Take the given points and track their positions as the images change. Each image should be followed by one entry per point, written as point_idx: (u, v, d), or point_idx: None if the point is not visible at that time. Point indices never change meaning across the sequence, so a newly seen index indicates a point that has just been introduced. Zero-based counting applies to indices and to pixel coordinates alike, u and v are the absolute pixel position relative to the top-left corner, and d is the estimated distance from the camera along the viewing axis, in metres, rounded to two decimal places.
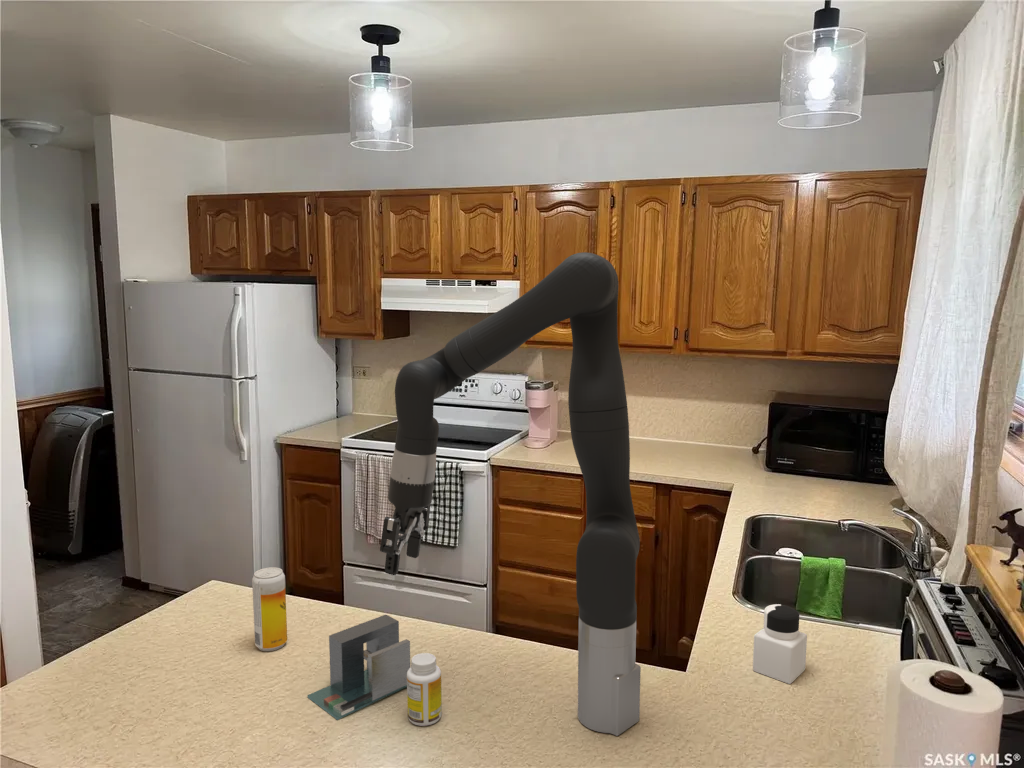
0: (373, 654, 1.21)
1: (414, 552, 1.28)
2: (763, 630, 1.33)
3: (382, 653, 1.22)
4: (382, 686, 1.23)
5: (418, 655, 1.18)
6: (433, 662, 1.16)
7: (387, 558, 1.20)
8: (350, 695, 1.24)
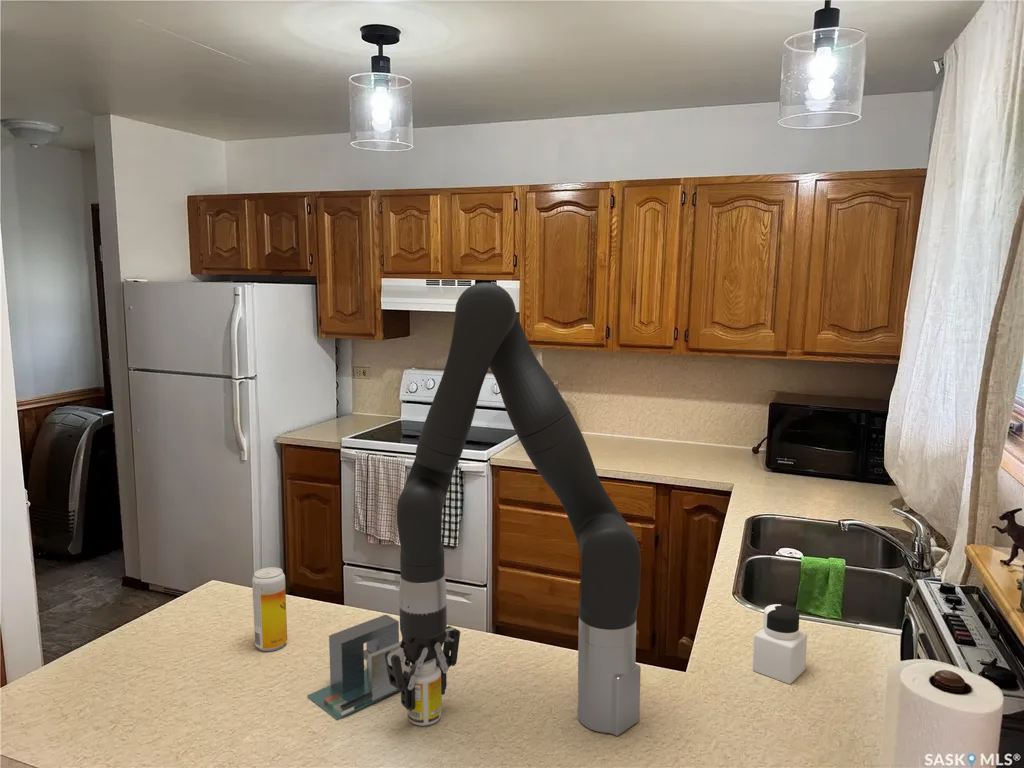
0: (373, 654, 1.21)
1: None
2: (763, 630, 1.33)
3: (382, 653, 1.22)
4: (382, 686, 1.23)
5: None
6: (433, 662, 1.16)
7: (401, 692, 1.15)
8: (350, 695, 1.24)
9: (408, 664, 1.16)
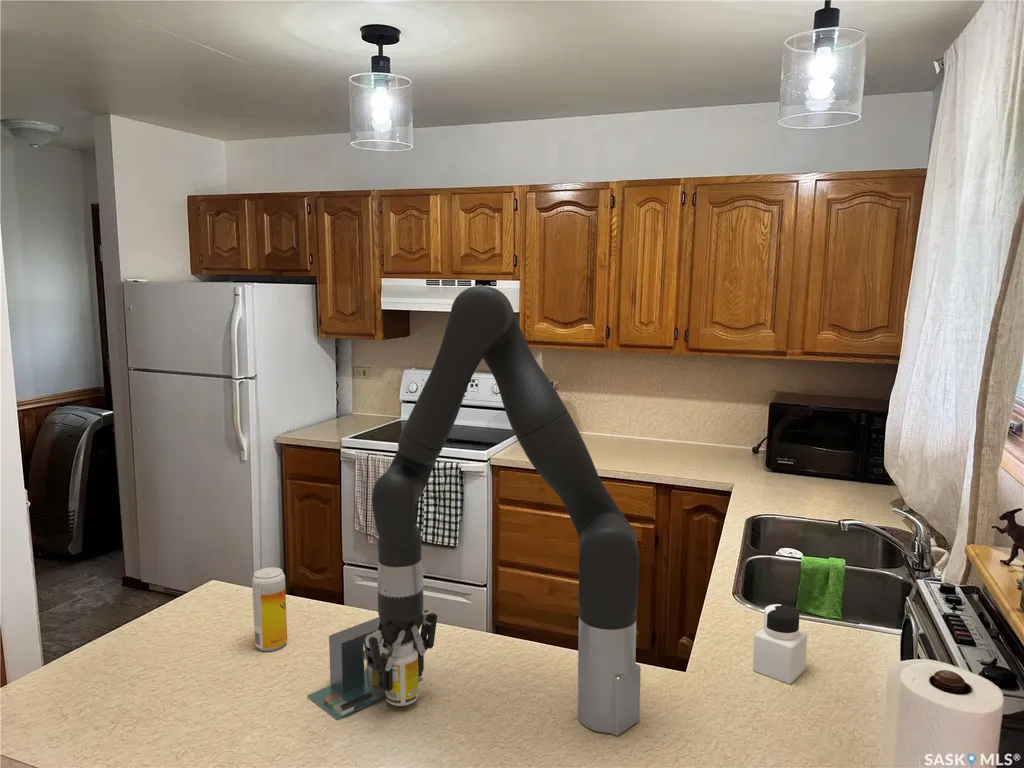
0: None
1: None
2: (763, 630, 1.33)
3: None
4: None
5: None
6: (410, 644, 1.20)
7: (379, 673, 1.18)
8: (350, 695, 1.24)
9: (386, 646, 1.20)
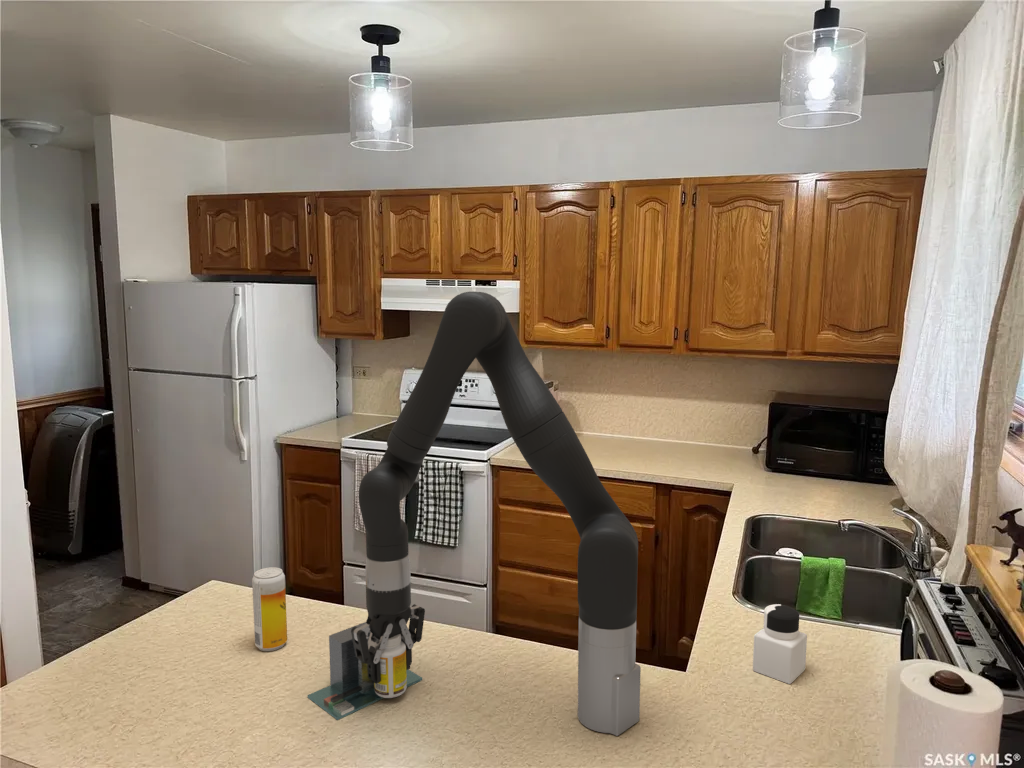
0: None
1: None
2: (763, 630, 1.33)
3: None
4: None
5: None
6: (398, 637, 1.22)
7: (367, 666, 1.21)
8: (350, 695, 1.24)
9: (374, 640, 1.22)
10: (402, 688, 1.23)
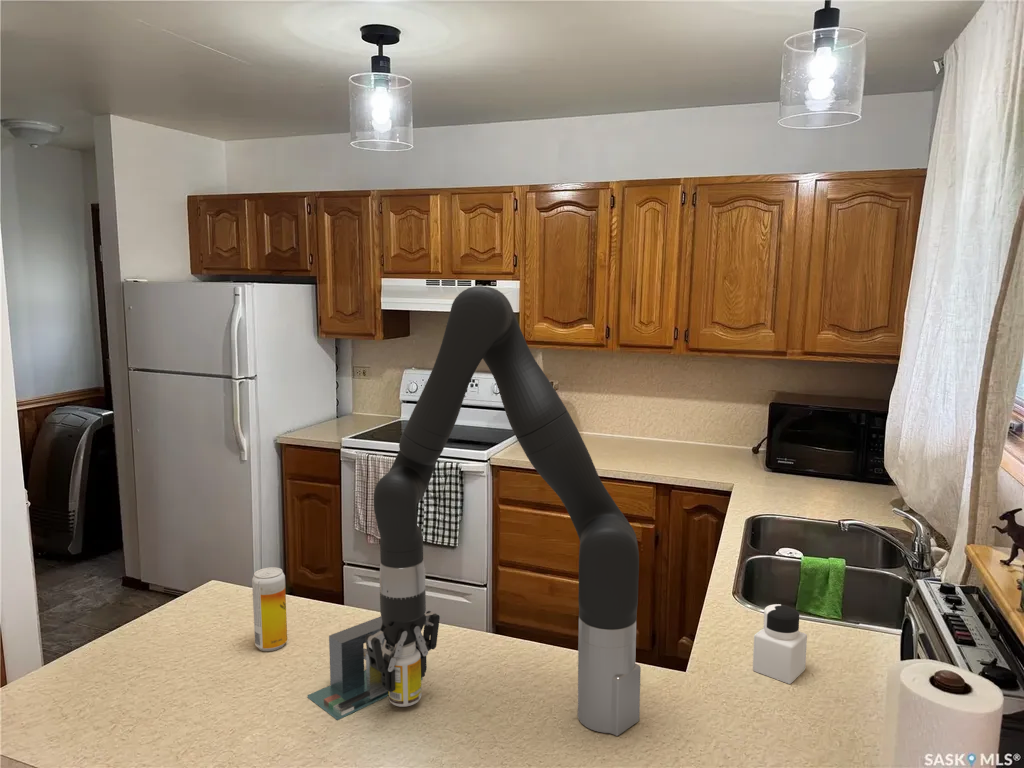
0: None
1: None
2: (763, 630, 1.33)
3: None
4: (379, 684, 1.23)
5: None
6: (413, 645, 1.20)
7: (382, 674, 1.19)
8: (350, 695, 1.24)
9: (388, 647, 1.20)
10: (417, 696, 1.20)
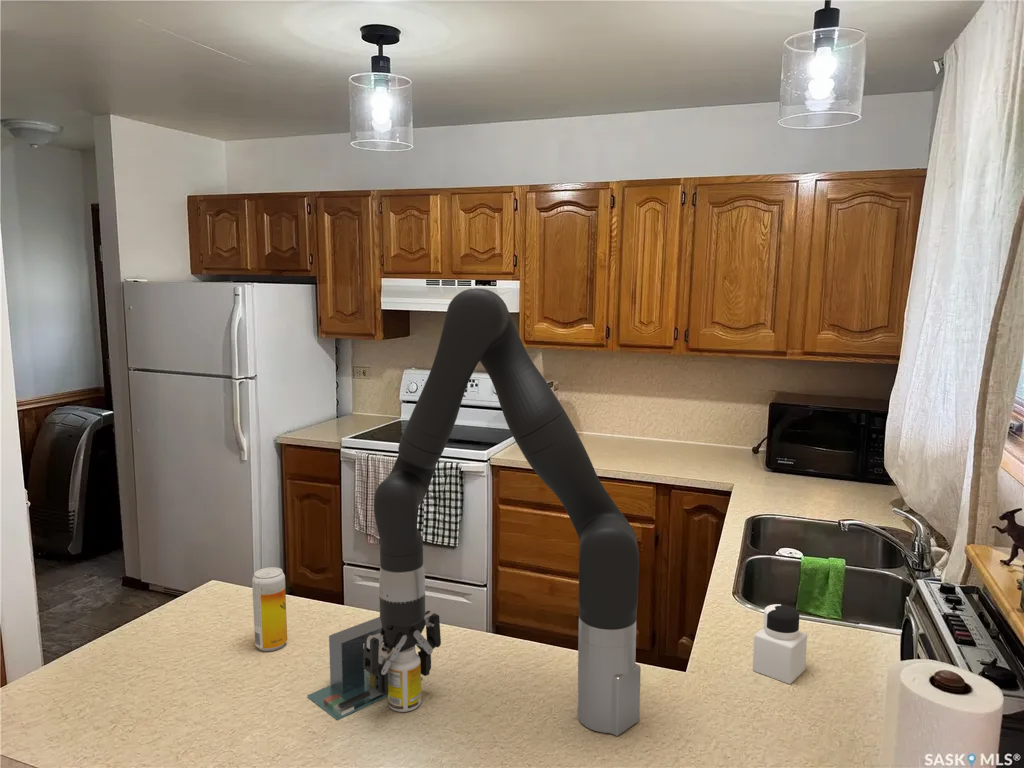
0: None
1: (423, 670, 1.24)
2: (763, 630, 1.33)
3: None
4: None
5: None
6: (413, 650, 1.20)
7: (375, 676, 1.18)
8: (350, 695, 1.24)
9: (384, 651, 1.19)
10: (417, 702, 1.20)
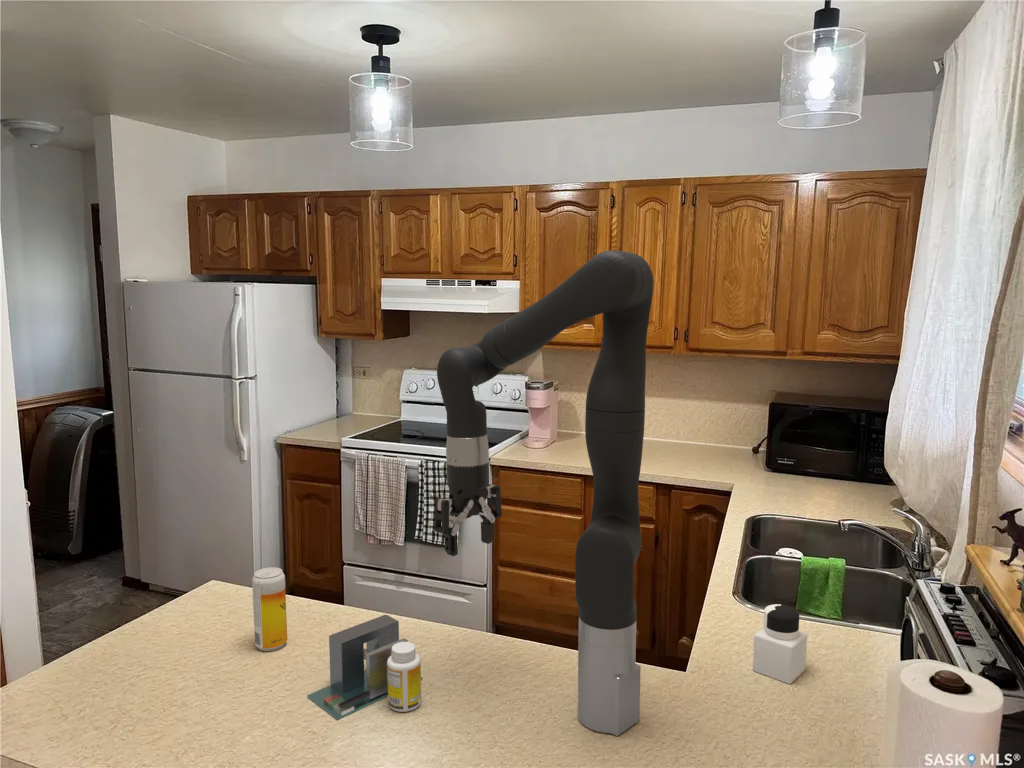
0: (371, 653, 1.22)
1: (486, 538, 1.31)
2: (763, 630, 1.33)
3: (380, 652, 1.22)
4: (379, 684, 1.23)
5: (398, 644, 1.22)
6: (412, 650, 1.20)
7: (445, 539, 1.25)
8: (350, 695, 1.24)
9: (452, 516, 1.27)
10: (417, 702, 1.20)
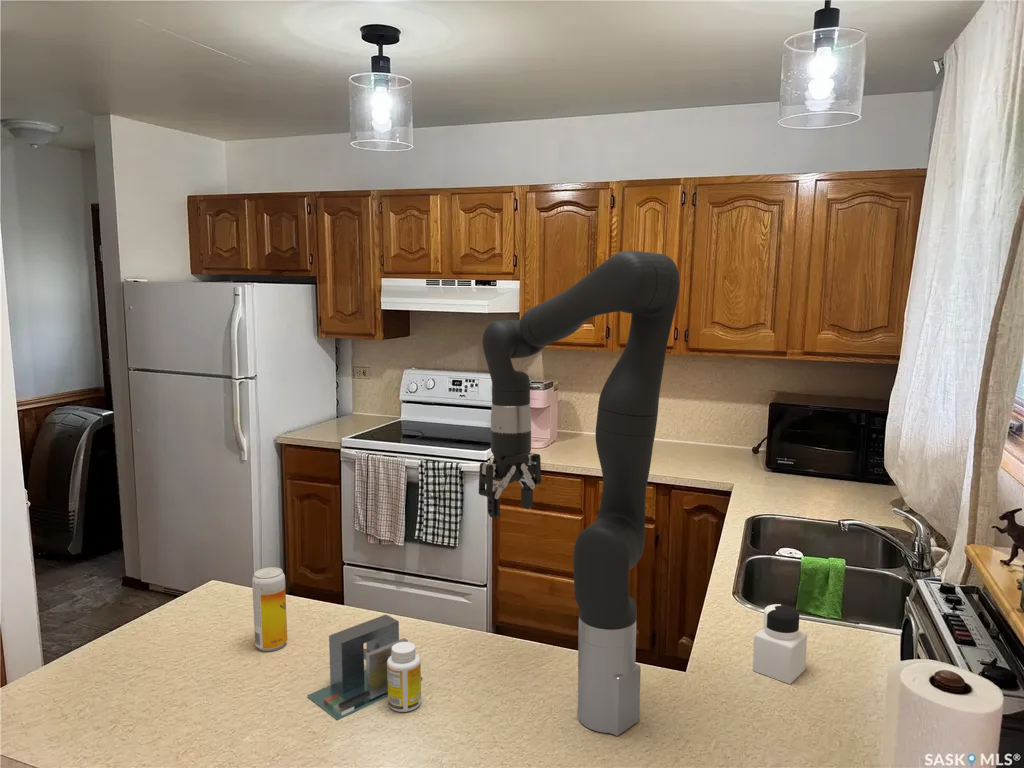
0: (371, 653, 1.22)
1: (526, 503, 1.38)
2: (763, 630, 1.33)
3: (380, 652, 1.22)
4: (379, 684, 1.23)
5: (398, 644, 1.22)
6: (412, 650, 1.20)
7: (488, 502, 1.32)
8: (350, 695, 1.24)
9: (495, 481, 1.33)
10: (417, 702, 1.20)
